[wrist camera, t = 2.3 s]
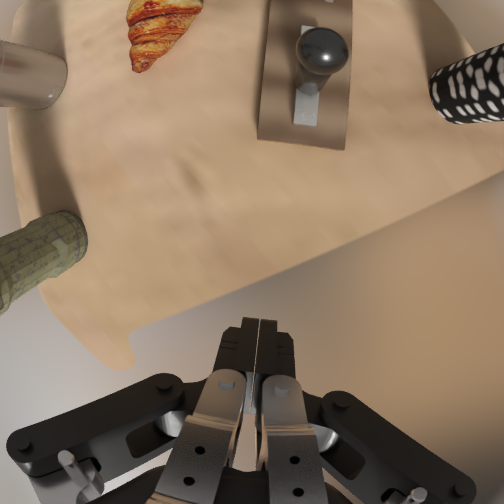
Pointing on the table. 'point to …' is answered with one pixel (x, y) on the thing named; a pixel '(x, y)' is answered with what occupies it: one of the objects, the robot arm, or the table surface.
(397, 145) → the table surface
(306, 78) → the bolt
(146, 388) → the robot arm
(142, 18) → the croissant
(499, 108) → the spotted tube
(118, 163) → the table surface
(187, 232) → the table surface
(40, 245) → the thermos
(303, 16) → the door board
